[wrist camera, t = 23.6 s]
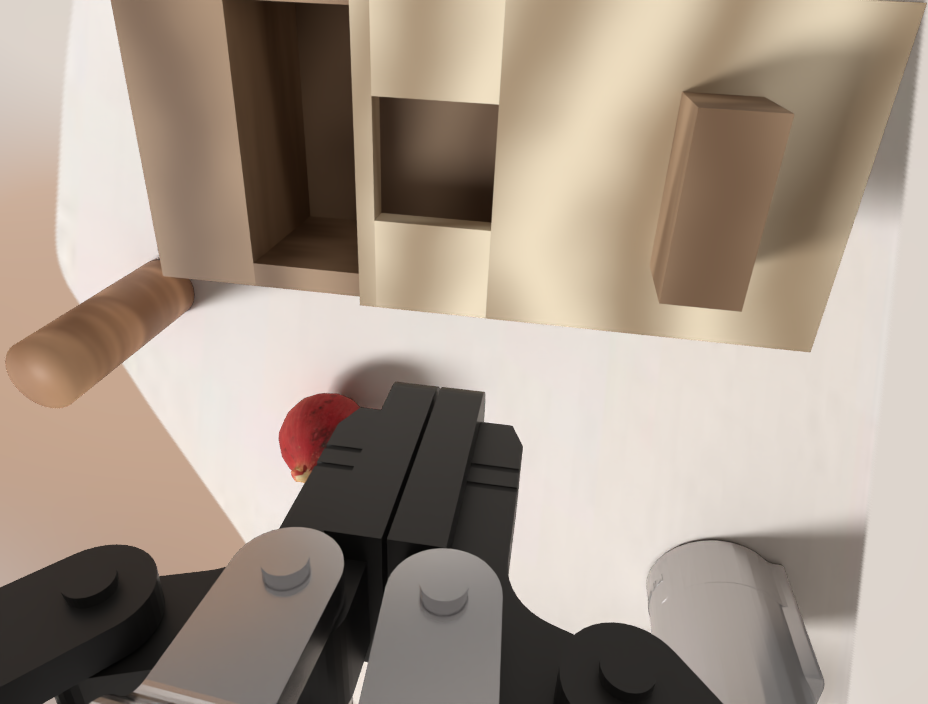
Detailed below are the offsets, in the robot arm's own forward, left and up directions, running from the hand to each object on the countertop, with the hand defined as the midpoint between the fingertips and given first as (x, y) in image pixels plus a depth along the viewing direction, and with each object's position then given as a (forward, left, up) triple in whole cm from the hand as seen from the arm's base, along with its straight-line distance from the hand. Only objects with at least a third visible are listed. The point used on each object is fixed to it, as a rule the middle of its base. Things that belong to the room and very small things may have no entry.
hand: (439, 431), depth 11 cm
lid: (-3, 0, -20) cm, 20 cm away
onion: (+12, +20, -29) cm, 37 cm away
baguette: (+24, +12, -29) cm, 40 cm away
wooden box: (+8, 0, -29) cm, 30 cm away
